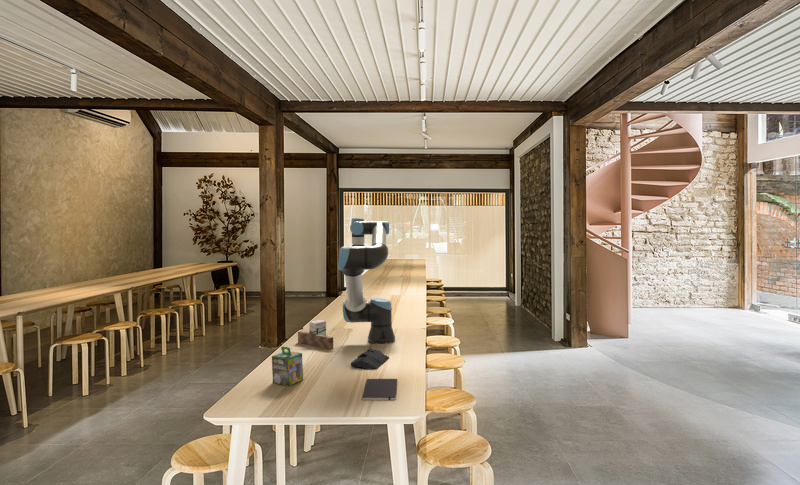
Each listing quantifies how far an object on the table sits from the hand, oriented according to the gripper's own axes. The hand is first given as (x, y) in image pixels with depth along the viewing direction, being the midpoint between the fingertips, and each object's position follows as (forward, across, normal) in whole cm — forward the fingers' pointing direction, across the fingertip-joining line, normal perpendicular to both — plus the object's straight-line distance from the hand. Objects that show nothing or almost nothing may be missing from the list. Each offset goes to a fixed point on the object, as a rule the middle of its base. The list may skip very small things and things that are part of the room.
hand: (358, 284), depth 286 cm
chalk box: (+30, +82, +34) cm, 94 cm away
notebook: (+30, +67, +72) cm, 103 cm away
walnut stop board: (+29, +35, 0) cm, 45 cm away
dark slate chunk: (+30, +41, +43) cm, 67 cm away
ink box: (+30, +29, -4) cm, 42 cm away
